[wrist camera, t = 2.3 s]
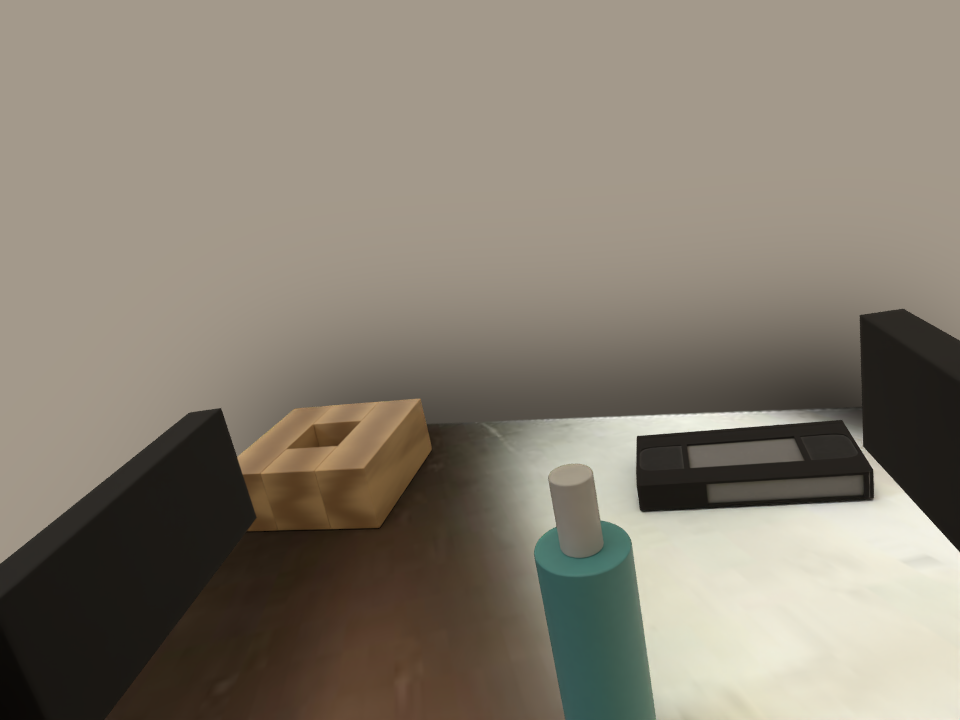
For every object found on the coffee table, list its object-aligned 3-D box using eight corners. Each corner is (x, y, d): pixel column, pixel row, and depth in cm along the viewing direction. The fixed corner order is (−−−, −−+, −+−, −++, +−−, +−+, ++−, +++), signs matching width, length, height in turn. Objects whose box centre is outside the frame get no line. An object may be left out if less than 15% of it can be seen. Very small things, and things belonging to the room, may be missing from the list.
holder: (233, 531, 56) (214, 475, 54) (308, 456, 67) (294, 408, 66) (379, 528, 52) (363, 468, 50) (432, 449, 63) (420, 398, 62)
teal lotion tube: (570, 806, 28) (511, 502, 24) (581, 732, 32) (530, 452, 27) (662, 814, 27) (617, 498, 23) (664, 737, 31) (624, 447, 26)
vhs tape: (875, 499, 44) (874, 471, 43) (639, 512, 48) (636, 486, 47) (842, 445, 51) (842, 419, 50) (639, 459, 54) (636, 436, 54)
